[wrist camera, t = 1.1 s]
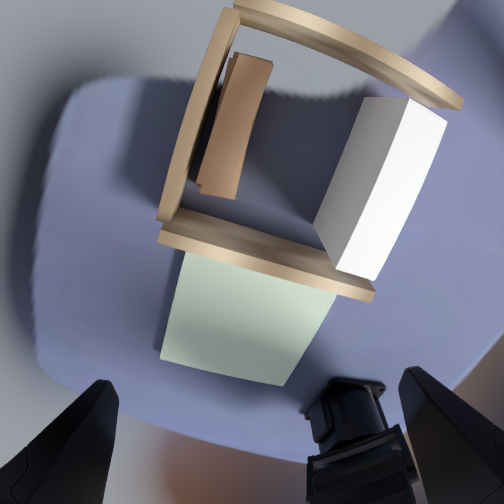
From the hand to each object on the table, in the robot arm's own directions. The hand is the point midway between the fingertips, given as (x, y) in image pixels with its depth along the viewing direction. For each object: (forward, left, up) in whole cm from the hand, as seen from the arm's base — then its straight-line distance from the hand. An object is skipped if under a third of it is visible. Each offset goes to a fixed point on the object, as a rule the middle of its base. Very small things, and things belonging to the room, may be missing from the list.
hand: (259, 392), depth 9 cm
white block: (-5, -6, -14) cm, 16 cm away
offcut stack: (+3, -6, -14) cm, 15 cm away
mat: (-2, +8, -13) cm, 16 cm away
